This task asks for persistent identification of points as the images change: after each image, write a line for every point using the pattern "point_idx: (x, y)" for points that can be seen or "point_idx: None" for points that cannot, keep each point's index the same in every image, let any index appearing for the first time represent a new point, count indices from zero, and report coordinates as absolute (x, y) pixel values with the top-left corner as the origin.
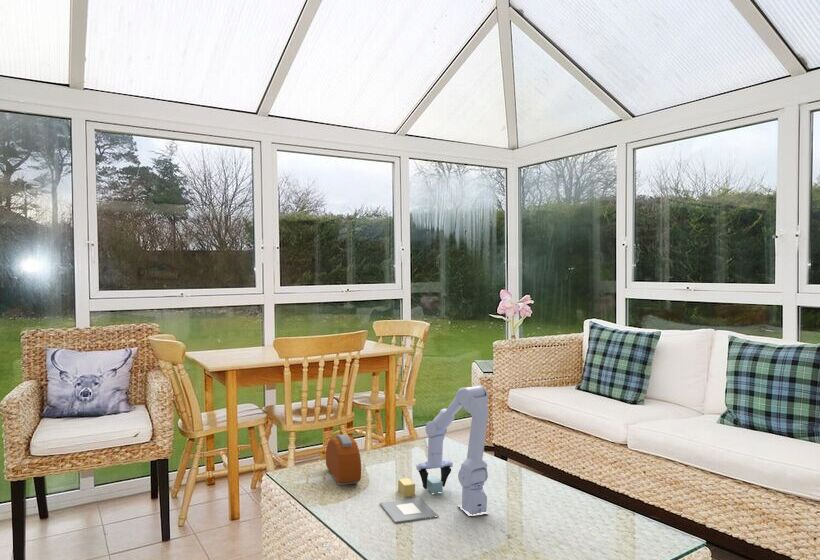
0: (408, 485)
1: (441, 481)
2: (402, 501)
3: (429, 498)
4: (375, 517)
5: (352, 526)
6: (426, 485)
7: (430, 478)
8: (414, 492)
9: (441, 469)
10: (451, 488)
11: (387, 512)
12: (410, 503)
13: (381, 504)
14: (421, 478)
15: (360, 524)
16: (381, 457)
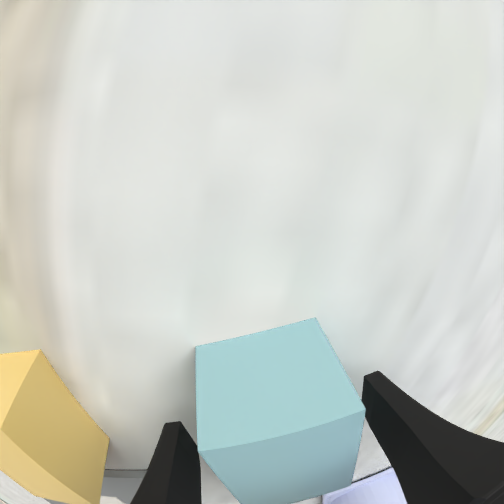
0: (56, 497)
1: (345, 483)
2: None
3: (208, 466)
4: (28, 494)
5: (5, 495)
6: (195, 475)
7: (259, 467)
8: (103, 456)
9: (445, 493)
10: (426, 332)
11: (48, 500)
12: (108, 498)
13: None
14: (139, 493)
15: (15, 497)
16: None
